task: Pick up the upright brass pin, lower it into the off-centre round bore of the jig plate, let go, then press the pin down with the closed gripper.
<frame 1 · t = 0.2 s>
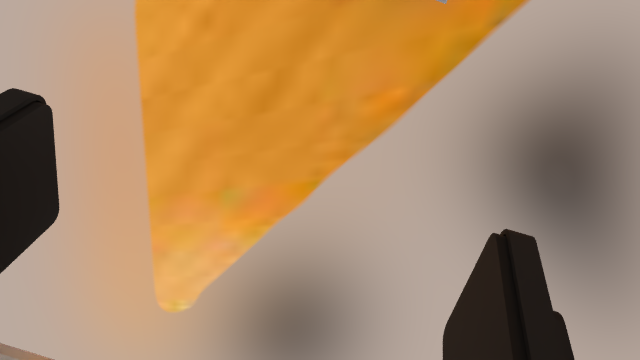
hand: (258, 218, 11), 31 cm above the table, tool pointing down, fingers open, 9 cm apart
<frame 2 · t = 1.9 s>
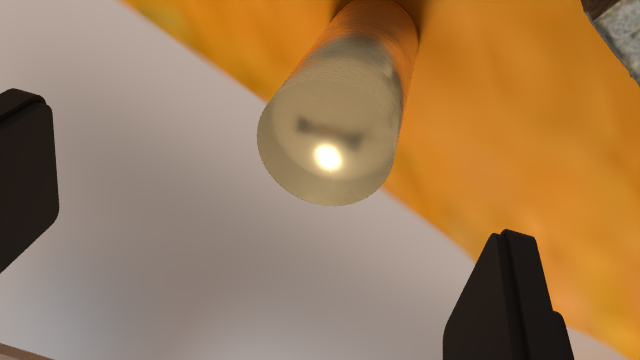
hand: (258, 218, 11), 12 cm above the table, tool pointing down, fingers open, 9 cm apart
brass pin: (372, 43, 21), on the table
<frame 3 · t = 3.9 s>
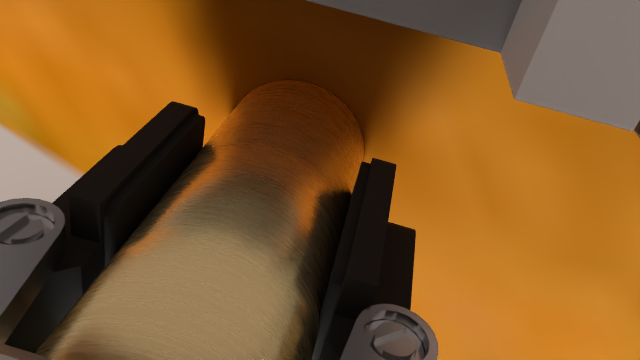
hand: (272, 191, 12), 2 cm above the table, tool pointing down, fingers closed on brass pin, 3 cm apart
brass pin: (295, 145, 14), on the table, touching gripper
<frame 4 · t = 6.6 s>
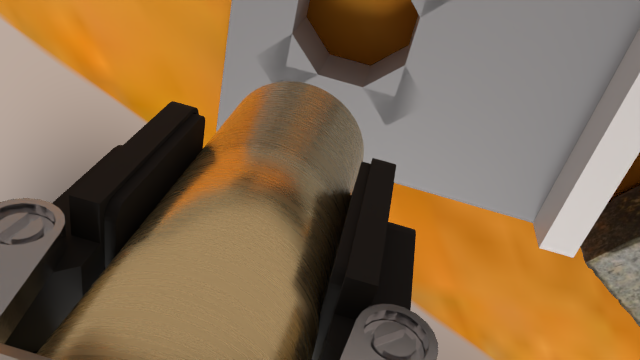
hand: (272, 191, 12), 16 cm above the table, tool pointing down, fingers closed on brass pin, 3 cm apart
jig plate: (433, 28, 25), on the table
brass pin: (295, 146, 14), point 14 cm above the table, touching gripper
when the fingers open (4 cm above the table, at t = 9.6 s): brass pin drops 1 cm, resting in jig plate.
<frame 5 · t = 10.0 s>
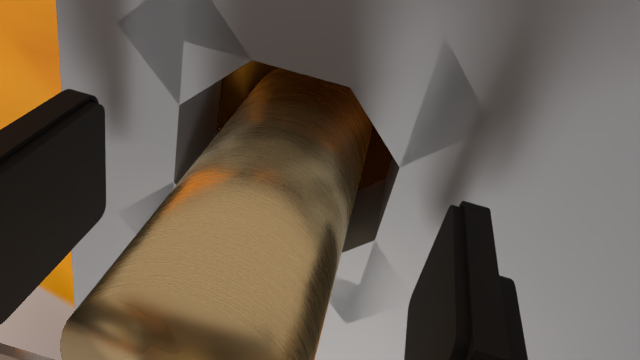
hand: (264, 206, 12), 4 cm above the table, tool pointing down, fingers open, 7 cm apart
jig plate: (427, 155, 15), on the table
brass pin: (308, 123, 15), resting in jig plate
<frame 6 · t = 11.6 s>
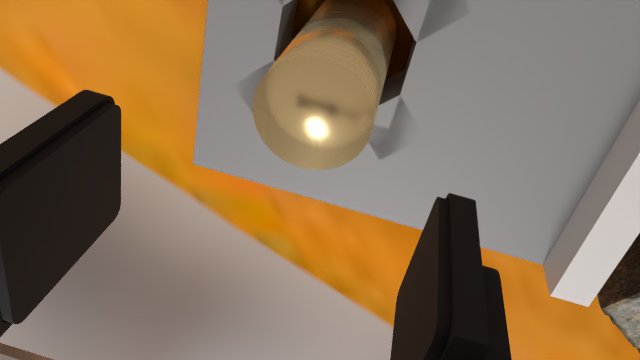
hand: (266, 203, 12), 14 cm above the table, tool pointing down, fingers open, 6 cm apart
jig plate: (432, 51, 23), on the table
brass pin: (354, 31, 23), resting in jig plate
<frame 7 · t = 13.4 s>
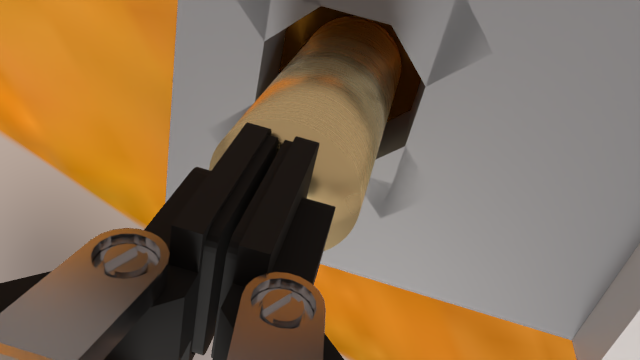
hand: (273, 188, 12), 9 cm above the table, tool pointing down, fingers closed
jig plate: (443, 90, 20), on the table
brass pin: (352, 65, 20), resting in jig plate, touching gripper
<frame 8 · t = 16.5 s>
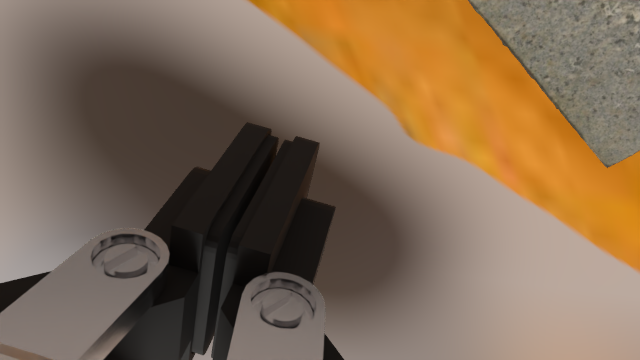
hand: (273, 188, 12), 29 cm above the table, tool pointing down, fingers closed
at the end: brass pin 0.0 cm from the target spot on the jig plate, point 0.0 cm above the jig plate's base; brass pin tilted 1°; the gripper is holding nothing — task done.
